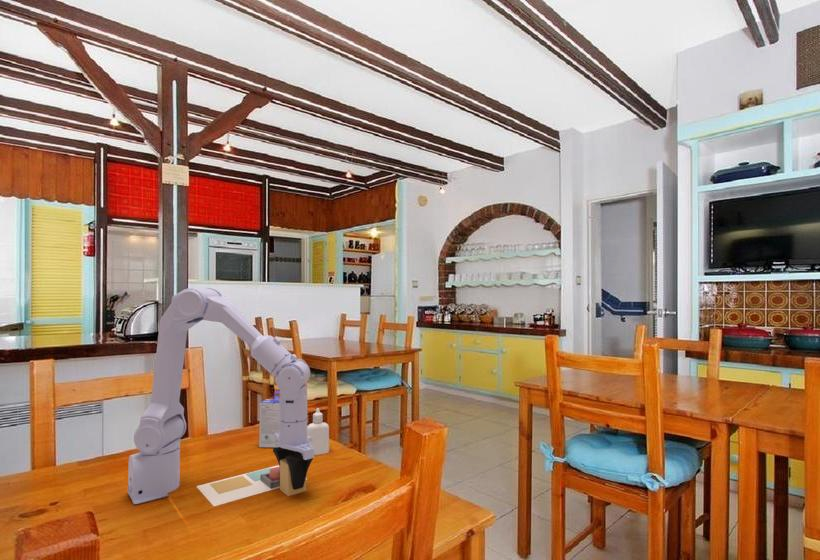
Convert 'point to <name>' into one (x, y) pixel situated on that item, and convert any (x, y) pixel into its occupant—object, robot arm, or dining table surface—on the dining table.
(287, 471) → the ochre block
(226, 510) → the dining table surface
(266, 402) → the ink cartridge box
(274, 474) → the button
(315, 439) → the eye dropper bottle
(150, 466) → the robot arm
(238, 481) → the white board with squares
